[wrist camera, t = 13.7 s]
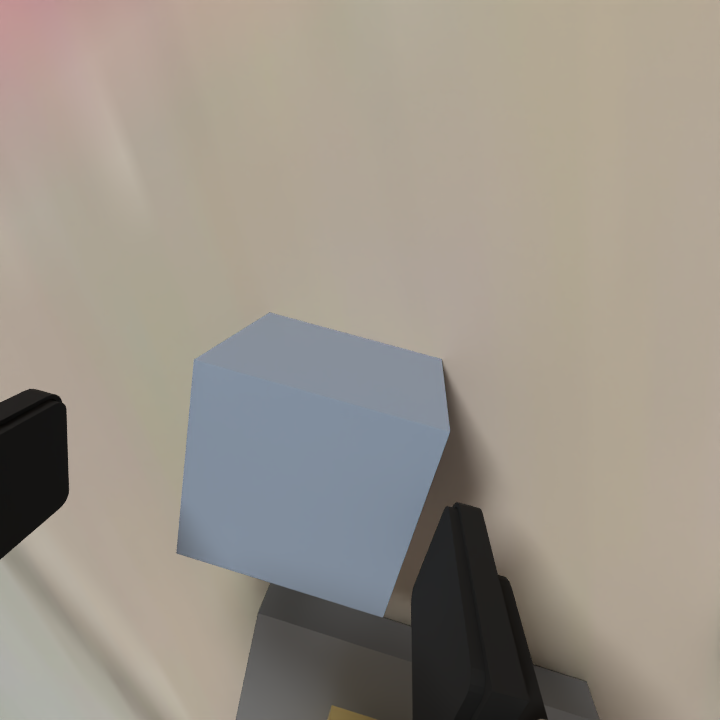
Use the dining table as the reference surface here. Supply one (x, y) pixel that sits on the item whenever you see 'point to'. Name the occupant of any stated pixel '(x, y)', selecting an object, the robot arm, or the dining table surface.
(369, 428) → the brick top
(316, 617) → the base plate
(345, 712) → the brick bottom
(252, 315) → the dining table surface
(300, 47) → the dining table surface
